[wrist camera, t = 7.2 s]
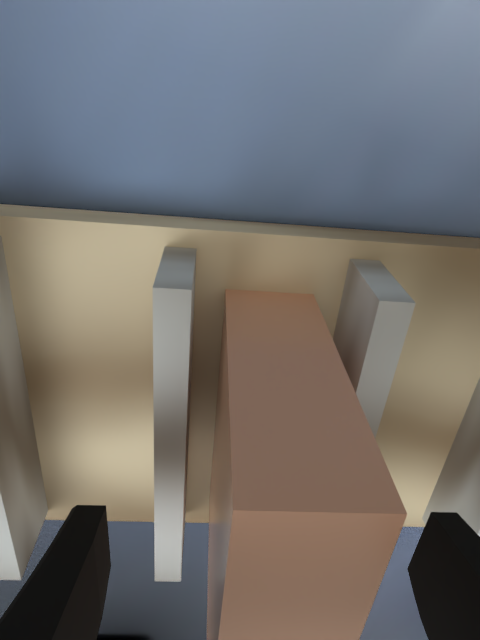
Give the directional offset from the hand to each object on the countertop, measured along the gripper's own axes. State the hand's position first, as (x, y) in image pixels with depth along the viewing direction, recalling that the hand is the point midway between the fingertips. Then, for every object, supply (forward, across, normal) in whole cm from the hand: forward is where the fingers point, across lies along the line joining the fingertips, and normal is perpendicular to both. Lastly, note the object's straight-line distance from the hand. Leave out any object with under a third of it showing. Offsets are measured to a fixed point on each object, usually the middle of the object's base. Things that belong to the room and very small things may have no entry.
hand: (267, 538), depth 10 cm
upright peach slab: (+4, 0, 0) cm, 4 cm away
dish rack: (+6, 0, 0) cm, 6 cm away
